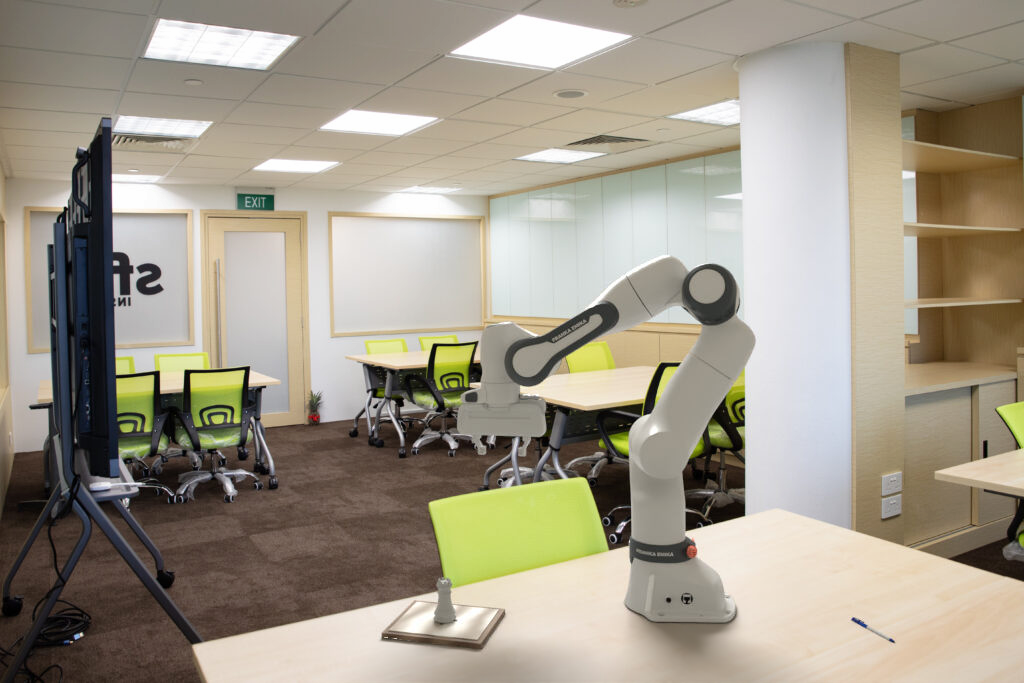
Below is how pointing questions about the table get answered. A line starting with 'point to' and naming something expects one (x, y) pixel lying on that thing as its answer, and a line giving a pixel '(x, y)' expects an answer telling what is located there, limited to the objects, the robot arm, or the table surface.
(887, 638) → the ballpoint pen
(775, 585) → the table surface
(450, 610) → the rook chess piece
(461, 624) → the brown-bordered mat
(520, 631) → the table surface
